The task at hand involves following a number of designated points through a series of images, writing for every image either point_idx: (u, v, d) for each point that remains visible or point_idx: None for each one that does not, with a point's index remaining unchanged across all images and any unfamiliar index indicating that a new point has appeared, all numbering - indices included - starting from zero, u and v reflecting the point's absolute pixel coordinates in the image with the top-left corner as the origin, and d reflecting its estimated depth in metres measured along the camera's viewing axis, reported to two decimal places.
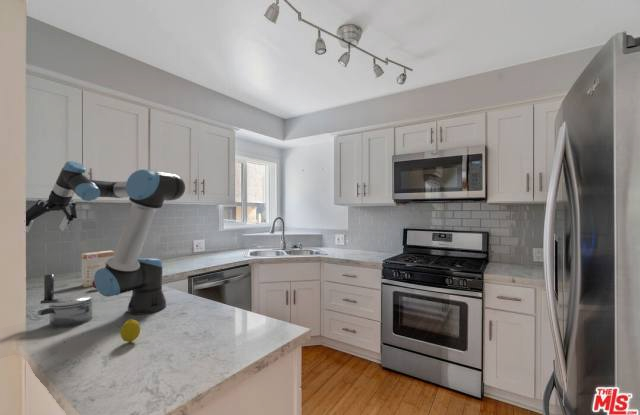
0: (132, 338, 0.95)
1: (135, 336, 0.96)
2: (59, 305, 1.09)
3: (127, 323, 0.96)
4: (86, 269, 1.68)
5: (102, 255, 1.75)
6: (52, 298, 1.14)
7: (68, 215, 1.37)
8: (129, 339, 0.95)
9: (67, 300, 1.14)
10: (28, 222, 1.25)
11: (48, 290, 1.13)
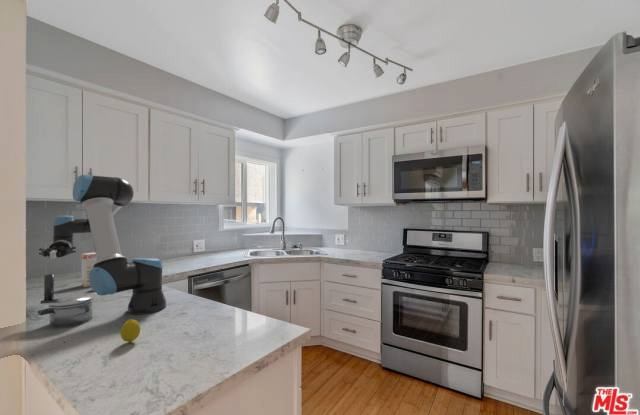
0: (132, 338, 0.95)
1: (135, 336, 0.96)
2: (59, 305, 1.09)
3: (127, 323, 0.96)
4: (86, 269, 1.68)
5: None
6: (52, 298, 1.14)
7: None
8: (129, 339, 0.95)
9: (67, 300, 1.14)
10: (50, 252, 1.23)
11: (48, 290, 1.13)
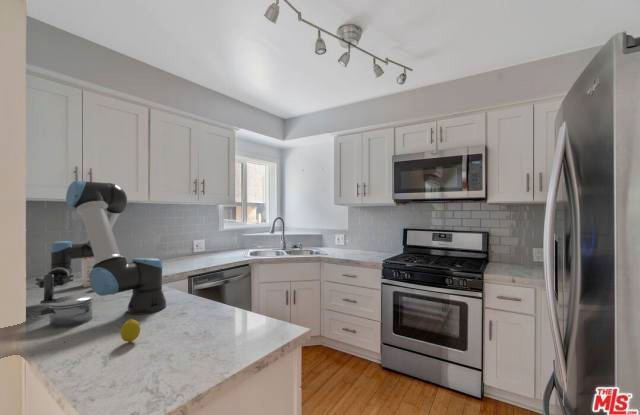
0: (132, 338, 0.95)
1: (135, 336, 0.96)
2: (59, 305, 1.09)
3: (127, 323, 0.96)
4: (86, 269, 1.68)
5: None
6: (52, 298, 1.14)
7: (56, 279, 1.24)
8: (129, 339, 0.95)
9: (67, 300, 1.14)
10: None
11: (48, 290, 1.13)
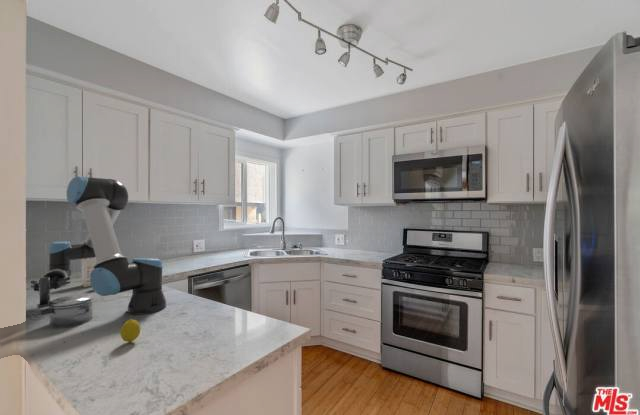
0: (132, 338, 0.95)
1: (135, 336, 0.96)
2: (75, 303, 1.11)
3: (127, 323, 0.96)
4: (86, 269, 1.68)
5: None
6: (49, 301, 1.10)
7: (51, 282, 1.19)
8: (129, 339, 0.95)
9: (71, 300, 1.14)
10: None
11: (47, 293, 1.09)
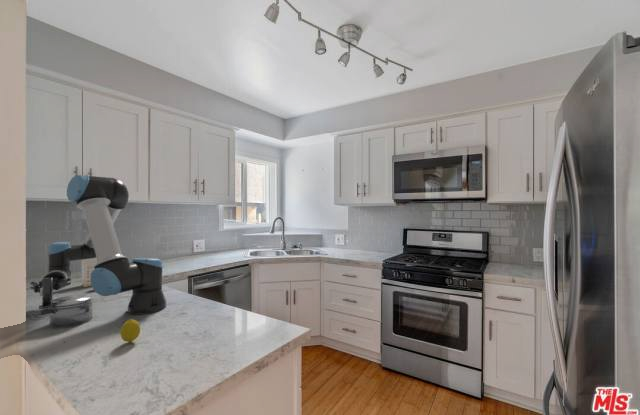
0: (132, 338, 0.95)
1: (135, 336, 0.96)
2: (81, 302, 1.13)
3: (127, 323, 0.96)
4: (86, 269, 1.68)
5: None
6: None
7: None
8: (129, 339, 0.95)
9: (73, 299, 1.15)
10: (41, 287, 1.12)
11: (51, 294, 1.08)
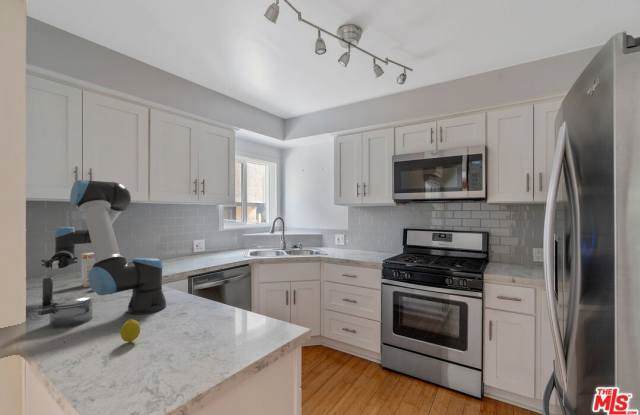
0: (132, 338, 0.95)
1: (135, 336, 0.96)
2: (82, 302, 1.13)
3: (127, 323, 0.96)
4: (86, 269, 1.68)
5: None
6: None
7: None
8: (129, 339, 0.95)
9: (73, 299, 1.15)
10: (52, 263, 1.24)
11: (51, 294, 1.08)
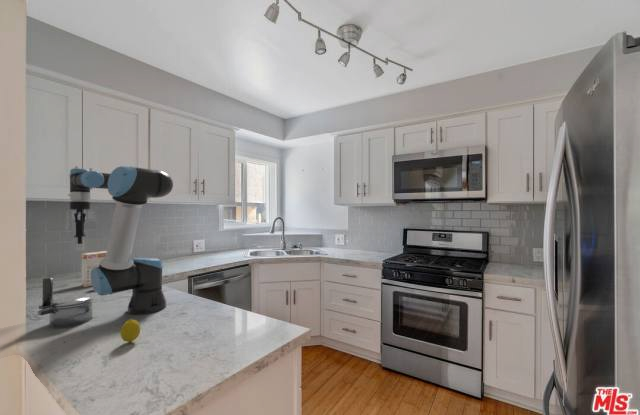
0: (132, 338, 0.95)
1: (135, 336, 0.96)
2: (82, 302, 1.13)
3: (127, 323, 0.96)
4: (86, 269, 1.68)
5: (102, 255, 1.75)
6: None
7: (83, 229, 1.39)
8: (129, 339, 0.95)
9: (73, 299, 1.15)
10: (81, 239, 1.36)
11: (51, 294, 1.08)
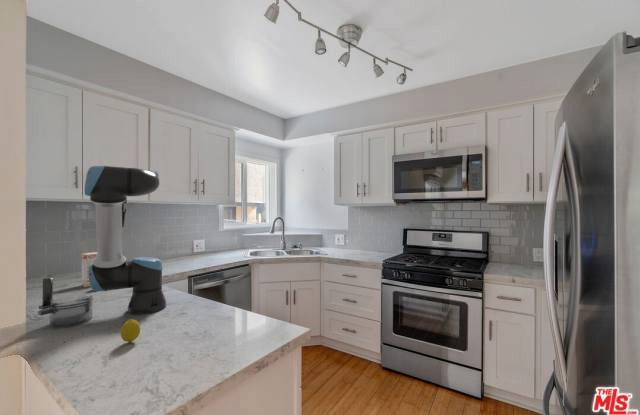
0: (132, 338, 0.95)
1: (135, 336, 0.96)
2: (82, 302, 1.13)
3: (127, 323, 0.96)
4: (86, 269, 1.68)
5: None
6: None
7: (121, 221, 1.56)
8: (129, 339, 0.95)
9: (73, 299, 1.15)
10: None
11: (51, 294, 1.08)
